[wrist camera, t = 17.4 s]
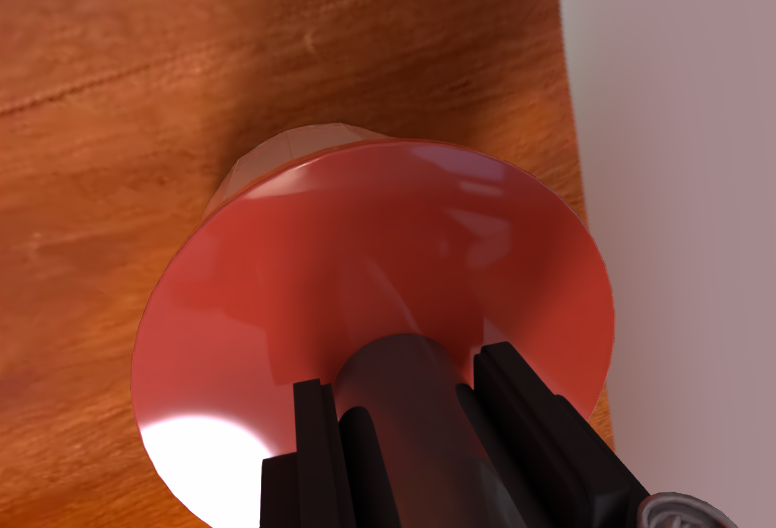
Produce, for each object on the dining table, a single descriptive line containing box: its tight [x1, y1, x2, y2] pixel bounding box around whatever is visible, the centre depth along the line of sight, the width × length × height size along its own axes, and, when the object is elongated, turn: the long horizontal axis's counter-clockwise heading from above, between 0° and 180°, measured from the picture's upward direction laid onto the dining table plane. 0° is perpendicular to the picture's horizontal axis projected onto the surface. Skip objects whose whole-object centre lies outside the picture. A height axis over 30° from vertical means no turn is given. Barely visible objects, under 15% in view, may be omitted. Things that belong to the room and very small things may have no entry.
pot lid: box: [130, 138, 615, 528], centre depth 9 cm, size 11×11×7 cm
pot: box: [199, 123, 391, 223], centre depth 18 cm, size 10×10×8 cm
